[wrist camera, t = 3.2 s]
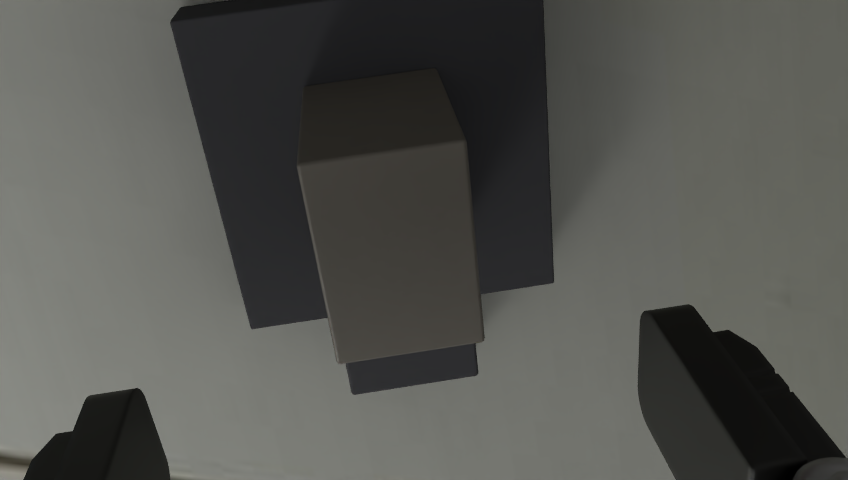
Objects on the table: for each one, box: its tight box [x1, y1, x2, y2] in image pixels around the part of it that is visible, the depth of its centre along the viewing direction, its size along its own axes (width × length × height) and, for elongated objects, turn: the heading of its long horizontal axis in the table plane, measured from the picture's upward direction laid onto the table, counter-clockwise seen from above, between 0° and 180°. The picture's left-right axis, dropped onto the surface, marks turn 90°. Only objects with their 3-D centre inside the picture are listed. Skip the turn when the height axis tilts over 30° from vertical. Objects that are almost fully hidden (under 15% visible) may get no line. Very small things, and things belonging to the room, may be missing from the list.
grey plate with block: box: [170, 0, 554, 395], centre depth 21 cm, size 9×12×6 cm
